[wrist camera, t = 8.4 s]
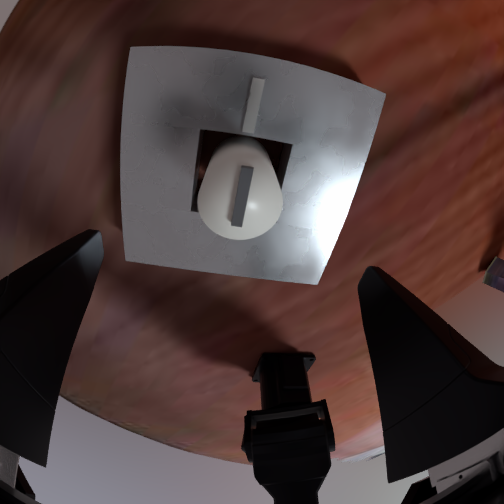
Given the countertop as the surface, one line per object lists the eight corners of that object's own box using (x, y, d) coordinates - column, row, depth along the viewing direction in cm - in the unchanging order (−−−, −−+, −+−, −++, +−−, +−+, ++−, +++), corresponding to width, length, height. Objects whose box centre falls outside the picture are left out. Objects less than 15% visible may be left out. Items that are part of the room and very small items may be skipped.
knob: (263, 194, 18) (272, 248, 13) (207, 186, 18) (193, 237, 13) (275, 141, 16) (293, 174, 11) (215, 131, 16) (201, 159, 10)
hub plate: (310, 263, 22) (317, 286, 20) (135, 241, 20) (124, 262, 18) (367, 90, 14) (387, 94, 12) (145, 50, 12) (129, 46, 10)
